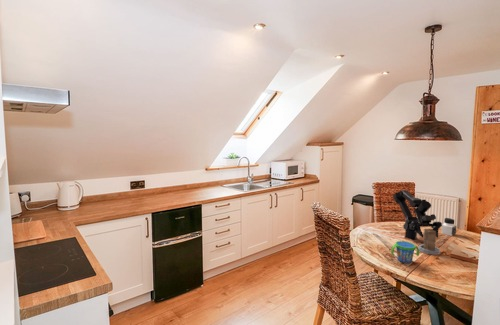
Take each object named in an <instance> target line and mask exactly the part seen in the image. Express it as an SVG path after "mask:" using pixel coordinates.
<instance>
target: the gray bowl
mask: <svg viewBox="0 0 500 325" xmlns="http://www.w3.org/2000/svg"><path fill="white" fill-rule="evenodd" d="M417 247H418V249H419V252H420V253H423V254H426V255H431V256H432V255H433V256H436V255H438V256H439V255H440V254H441V249H440V248H439V247H437V246H435V251H430V250H426V249H424V248H423V247H424V243H422V244H419V245H418V246H417Z"/></svg>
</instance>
